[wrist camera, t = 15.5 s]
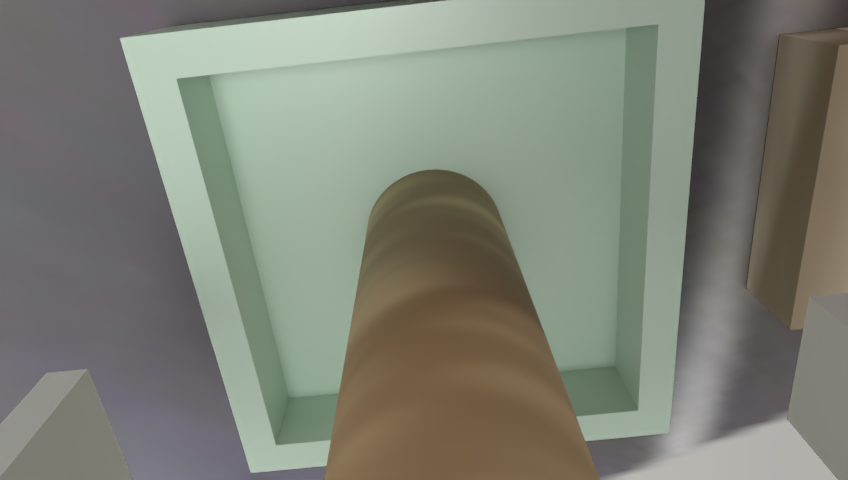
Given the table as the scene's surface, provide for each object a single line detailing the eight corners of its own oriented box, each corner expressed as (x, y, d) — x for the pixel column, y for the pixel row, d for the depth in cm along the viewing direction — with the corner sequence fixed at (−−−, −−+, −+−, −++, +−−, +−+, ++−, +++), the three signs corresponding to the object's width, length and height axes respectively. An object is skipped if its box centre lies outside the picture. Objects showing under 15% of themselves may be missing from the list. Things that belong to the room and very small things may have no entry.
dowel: (497, 162, 17) (768, 731, 4) (504, 286, 19) (715, 972, 6) (358, 177, 17) (199, 780, 4) (376, 299, 19) (304, 1004, 6)
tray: (655, -30, 16) (707, -30, 13) (636, 372, 21) (669, 433, 18) (169, 26, 16) (119, 38, 13) (271, 408, 21) (251, 472, 19)
